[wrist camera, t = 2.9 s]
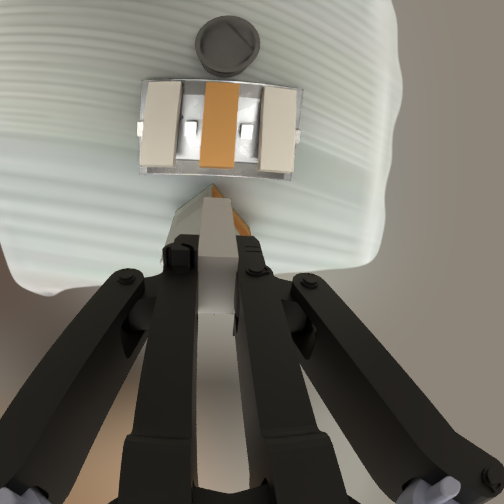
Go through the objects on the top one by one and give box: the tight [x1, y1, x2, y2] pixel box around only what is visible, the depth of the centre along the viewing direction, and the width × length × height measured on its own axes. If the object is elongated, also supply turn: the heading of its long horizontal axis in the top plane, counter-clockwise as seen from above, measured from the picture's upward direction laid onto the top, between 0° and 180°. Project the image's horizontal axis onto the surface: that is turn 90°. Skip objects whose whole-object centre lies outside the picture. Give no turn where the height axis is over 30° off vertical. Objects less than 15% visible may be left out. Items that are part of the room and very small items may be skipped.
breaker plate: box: [137, 79, 303, 181], centre depth 32 cm, size 11×18×4 cm, turn 84°
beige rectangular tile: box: [257, 86, 297, 174], centre depth 30 cm, size 9×3×2 cm, turn 174°
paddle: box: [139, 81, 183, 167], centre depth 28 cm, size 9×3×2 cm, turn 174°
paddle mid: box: [199, 82, 240, 169], centre depth 29 cm, size 9×3×2 cm, turn 174°
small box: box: [160, 184, 251, 266], centre depth 34 cm, size 8×6×13 cm
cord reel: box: [195, 16, 260, 77], centre depth 26 cm, size 6×6×8 cm
